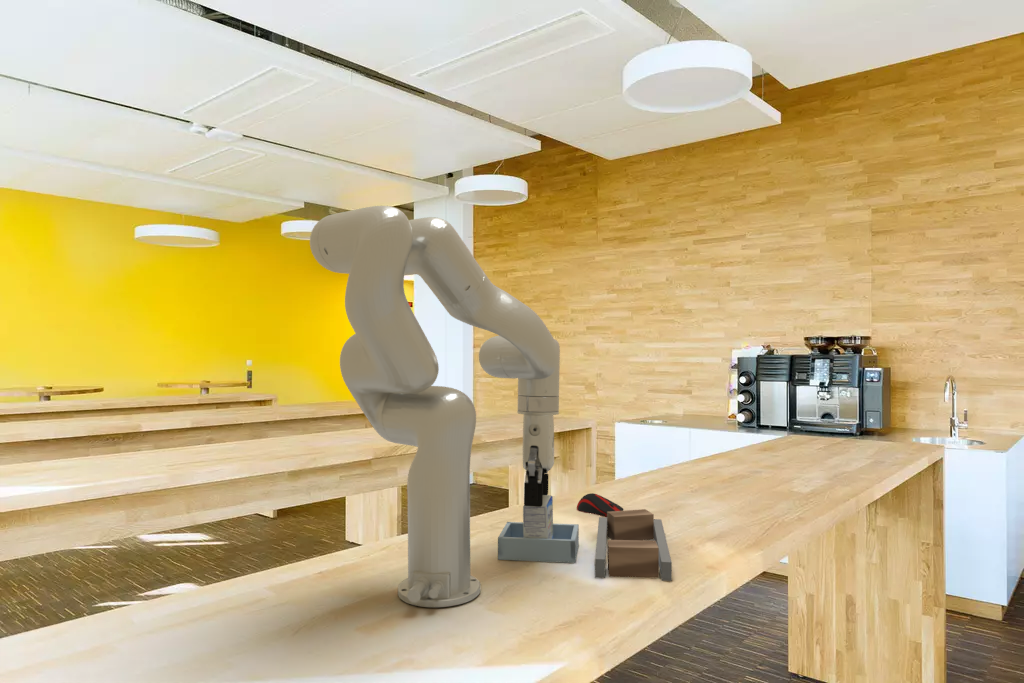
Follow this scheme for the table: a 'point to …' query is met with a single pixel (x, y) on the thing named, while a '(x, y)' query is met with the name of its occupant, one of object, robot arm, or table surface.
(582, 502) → the computer mouse
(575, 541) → the tray
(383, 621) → the table surface
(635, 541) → the near walnut block
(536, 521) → the medicine box
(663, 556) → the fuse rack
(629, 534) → the far walnut block
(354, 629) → the table surface
